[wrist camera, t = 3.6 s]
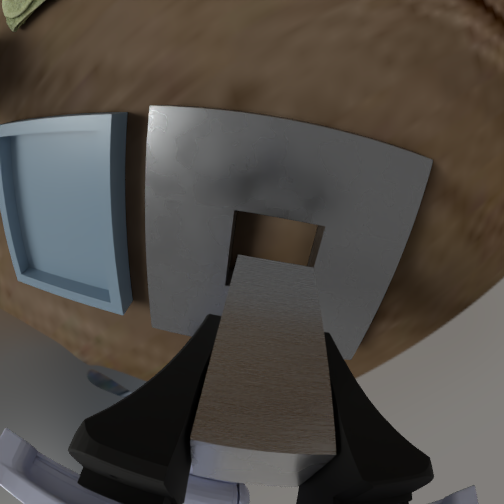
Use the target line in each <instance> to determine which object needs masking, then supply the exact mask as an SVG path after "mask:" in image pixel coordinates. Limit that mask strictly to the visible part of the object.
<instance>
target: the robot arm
mask: <svg viewBox="0 0 504 504" xmlns="http://www.w3.org/2000/svg"><path fill="white" fill-rule="evenodd" d="M220 320H221V316H219V315H213V314H208V315H207V316H206V317H205V319H204V321H203V322H202V324H201V325H200V327H199V328H198V330H197V331H196V332H195V333H194V335H193V336H192V337H191V339H190V340H189V341H188V342H187V343H186V345H185V346H184V347H183V348H182V349H181V350H180V352H179V353H178V354H177V355H176V356H175V357H174V358H173V359H172V360H171V361H170V362H169V363H168V364H167V365H166V366H165V367H164V368H163V369H162V370H161V371H159V372H158V373H157V374H156V375H155V376H154V377H153V378H151V379H150V380H149V381H148V382H146V383H145V384H144V385H143V386H141V387H140V388H139V389H137V390H136V391H135V392H133V393H132V394H130V395H129V396H127V397H125V398H124V399H122V400H121V401H119V402H117V403H116V404H114V405H112V406H111V407H109V408H107V409H105V410H103V411H101V412H99V413H97V414H95V415H93V416H91V417H89V418H87V419H85V420H84V421H83V422H82V424H81V426H80V427H79V428H78V430H77V431H76V433H75V435H74V437H73V439H72V442H71V444H70V446H69V449H68V451H69V453H70V454H71V456H72V457H74V459H76V460H77V461H78V462H79V463H80V464H81V465H82V466H83V470H82V472H81V474H78V473H76V472H74V471H72V470H70V469H68V468H66V467H64V466H62V465H61V464H59V463H57V462H55V461H53V460H52V459H50V458H48V457H46V456H45V455H43V454H41V453H40V452H38V451H37V450H36V449H35V448H34V447H33V446H32V445H31V444H29V443H28V442H27V441H25V440H24V439H23V438H21V437H20V436H18V435H17V434H15V433H14V432H12V431H11V430H10V429H8V428H5V429H4V431H3V433H2V435H1V436H0V485H1V486H2V487H3V488H4V489H5V490H7V491H8V492H9V493H10V494H12V495H13V496H14V497H16V498H17V499H18V500H19V501H21V502H22V503H23V504H249V501H250V499H249V490H248V488H247V487H246V486H245V484H244V483H237V482H230V481H224V480H218V479H212V478H206V477H201V476H197V475H193V468H192V458H191V447H190V437H191V433H192V429H193V425H194V421H195V417H196V413H197V409H198V405H199V401H200V397H201V393H202V389H203V385H204V381H205V377H206V374H207V370H208V366H209V362H210V358H211V354H212V351H213V347H214V343H215V339H216V335H217V332H218V328H219V324H220ZM324 336H325V343H326V351H327V359H328V367H329V376H330V385H331V395H332V405H333V416H334V428H335V441H336V455H335V456H334V457H333V458H332V459H331V460H330V461H329V462H328V463H326V464H325V465H324V466H323V467H322V468H321V469H319V470H318V471H317V472H316V473H315V474H313V475H312V476H311V477H310V478H309V479H307V480H306V481H305V482H303V483H302V484H301V485H300V486H299V491H298V497H297V503H296V504H409V503H408V501H411V500H412V492H414V491H416V490H417V489H419V488H421V487H423V486H425V485H426V484H428V483H429V482H431V481H432V479H433V478H434V475H433V469H432V465H431V461H430V457H428V456H427V455H426V454H424V453H423V452H422V451H420V450H419V449H417V448H416V447H415V446H413V445H412V444H411V443H410V442H409V441H407V440H406V439H405V438H404V437H403V436H402V435H401V434H400V433H398V432H397V431H396V430H395V429H394V428H393V427H392V426H391V424H390V423H389V422H388V421H386V419H385V418H384V417H383V416H382V415H381V414H380V413H379V411H378V410H377V409H376V408H375V407H374V405H373V404H372V403H371V401H370V400H369V399H368V397H367V396H366V395H365V393H364V392H363V390H362V389H361V387H360V386H359V384H358V383H357V381H356V379H355V378H354V376H353V374H352V373H351V371H350V369H349V368H348V366H347V364H346V362H345V361H344V359H343V357H342V355H341V353H340V351H339V350H338V348H337V346H336V344H335V342H334V340H333V338H332V336H331V334H330V333H329V332H324ZM429 504H478V499H477V494H476V489H475V486H474V485H472V486H470V487H467V488H465V489H462V490H460V491H457V492H455V493H453V494H451V495H449V496H447V497H445V498H444V499H441V500H439V501H435V502H432V503H429Z"/></svg>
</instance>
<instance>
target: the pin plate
mask: <svg viewBox="0 0 504 504" xmlns="http://www.w3.org/2000/svg"><path fill="white" fill-rule="evenodd" d="M432 163H433V160H432V159H430V158H427V157H425V156H423V155H421V154H418V153H415V152H413V151H410V150H407V149H404V148H401V147H398V146H395V145H392V144H389V143H386V142H382V141H379V140H376V139H372V138H369V137H365V136H362V135H358V134H355V133H351V132H347V131H343V130H339V129H335V128H331V127H327V126H322V125H318V124H313V123H308V122H304V121H298V120H293V119H288V118H282V117H277V116H271V115H264V114H258V113H251V112H243V111H235V110H226V109H217V108H206V107H193V106H175V105H154V106H150V109H149V121H148V134H147V150H146V176H145V234H146V260H147V277H148V291H149V303H150V313H151V323H152V327H153V328H157V329H161V330H166V331H170V332H174V333H179V334H183V335H188V336H193V335H194V333H195V332H196V331H197V330H198V328H199V327H200V325H201V324H202V322H203V321H204V319H205V317H206V316H207V315H208V314H213V315H219V316H222V313H223V309H224V305H225V301H226V298H227V294H228V290H229V287H230V283H231V279H232V275H233V272H234V270H232V269H230V263H231V255H232V248H233V240H234V232H235V225H236V217H237V210H238V211H244V212H250V213H256V214H262V215H267V216H273V217H279V218H284V219H290V220H295V221H301V222H306V223H311V224H316V225H318V228H317V231H316V235H315V239H314V243H313V246H312V250H311V254H310V257H309V261H308V264H307V266H308V267H313V268H314V271H315V277H316V283H317V289H318V295H319V302H320V308H321V315H322V322H323V329H324V332H329V333H330V334H331V336H332V338H333V340H334V342H335V344H336V346H337V348H338V350H339V351H340V353H341V355H342V357H343V359H349V360H351V359H352V357H353V356H354V354H355V352H356V350H357V348H358V347H359V345H360V343H361V341H362V339H363V337H364V335H365V333H366V332H367V330H368V328H369V326H370V324H371V322H372V320H373V318H374V316H375V314H376V312H377V310H378V308H379V306H380V304H381V301H382V299H383V297H384V295H385V293H386V291H387V288H388V286H389V284H390V282H391V279H392V277H393V275H394V273H395V270H396V268H397V265H398V263H399V261H400V258H401V256H402V253H403V251H404V248H405V246H406V243H407V240H408V238H409V235H410V232H411V230H412V227H413V224H414V221H415V218H416V215H417V212H418V210H419V207H420V203H421V200H422V197H423V194H424V191H425V188H426V184H427V181H428V177H429V174H430V170H431V167H432Z"/></svg>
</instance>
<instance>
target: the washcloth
mask: <svg viewBox="0 0 504 504" xmlns="http://www.w3.org/2000/svg"><path fill="white" fill-rule="evenodd" d="M44 1H46V0H2V7H3V12H4V16H5V17H6V19H7V24H8V26H9V28H10V29H11V30H12V31H13V32H16V31H17V30H18V29H19V27H20V26H21V25H22V24H24V23H25V21H26V19H27V18H28V17H30V15H31V14H32V13H33V12H34V11H35V10H36V9H37V8H38V7H39V6H40V5H41V4H42V3H43V2H44Z"/></svg>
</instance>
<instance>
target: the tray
mask: <svg viewBox="0 0 504 504" xmlns="http://www.w3.org/2000/svg"><path fill="white" fill-rule="evenodd" d="M127 114H128V112H106V113H83V114H69V115H58V116H48V117H40V118H32V119H25V120H18V121H12V122H7V123H4V124H0V209H1V215H2V220H3V225H4V230H5V234H6V239H7V243H8V247H9V251H10V255H11V258H12V262H13V266H14V269H15V272H16V276H17V279H18V281H20V282H23V283H26V284H28V285H31V286H34V287H36V288H39V289H42V290H45V291H47V292H50V293H53V294H56V295H59V296H62V297H65V298H68V299H71V300H74V301H77V302H80V303H83V304H86V305H90V306H93V307H96V308H100V309H103V310H106V311H110V312H113V313H117V314H120V315H124V313H125V312H126V310H127V309H128V307H129V306H130V304H131V303H132V301H133V297H132V289H131V280H130V270H129V260H128V247H127V231H126V209H125V151H126V128H127Z"/></svg>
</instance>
